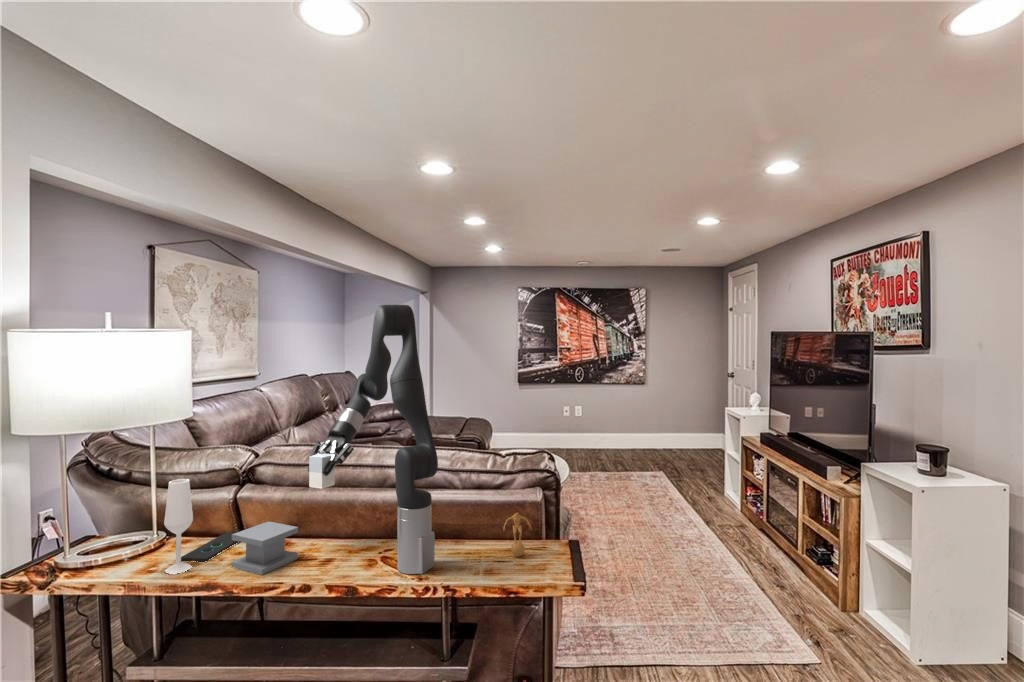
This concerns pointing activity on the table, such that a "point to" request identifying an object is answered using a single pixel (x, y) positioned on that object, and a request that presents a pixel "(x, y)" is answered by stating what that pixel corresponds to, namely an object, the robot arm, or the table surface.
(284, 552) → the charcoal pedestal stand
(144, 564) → the table surface
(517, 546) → the figurine
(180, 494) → the champagne flute
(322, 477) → the block
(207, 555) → the smart home device
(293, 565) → the table surface
